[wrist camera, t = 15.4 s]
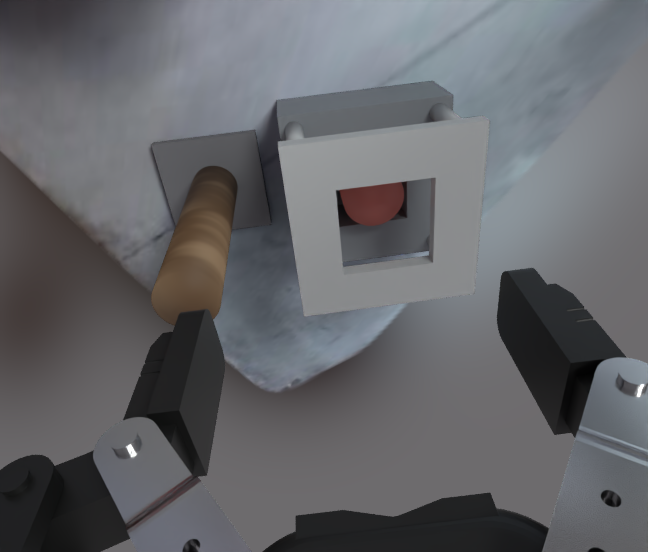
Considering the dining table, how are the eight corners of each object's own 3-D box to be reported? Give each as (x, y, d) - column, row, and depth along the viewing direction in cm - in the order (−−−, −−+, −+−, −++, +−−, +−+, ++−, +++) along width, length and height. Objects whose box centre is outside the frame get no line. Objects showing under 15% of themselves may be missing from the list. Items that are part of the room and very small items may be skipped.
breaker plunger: (389, 142, 37) (403, 164, 33) (390, 195, 39) (404, 221, 35) (333, 149, 37) (340, 172, 33) (337, 201, 39) (345, 229, 35)
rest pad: (255, 129, 37) (254, 132, 37) (271, 221, 42) (271, 224, 41) (152, 142, 37) (151, 145, 37) (179, 233, 41) (178, 236, 41)
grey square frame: (432, 80, 37) (489, 120, 27) (429, 221, 43) (474, 293, 33) (276, 100, 36) (278, 147, 27) (297, 238, 43) (304, 316, 33)
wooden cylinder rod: (232, 163, 38) (212, 268, 25) (241, 204, 40) (226, 323, 26) (187, 168, 38) (142, 277, 24) (198, 209, 40) (162, 331, 26)
